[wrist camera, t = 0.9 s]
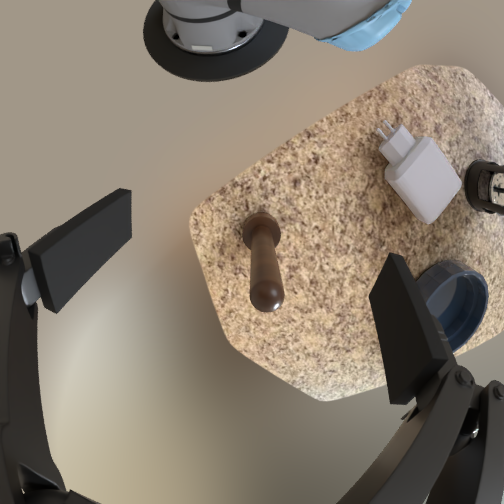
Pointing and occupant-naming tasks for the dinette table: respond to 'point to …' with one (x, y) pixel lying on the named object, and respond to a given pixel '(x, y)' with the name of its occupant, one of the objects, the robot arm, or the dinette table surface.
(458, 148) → the dinette table surface
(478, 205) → the french press
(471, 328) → the bowl
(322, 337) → the dinette table surface
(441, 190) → the charger
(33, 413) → the robot arm
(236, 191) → the dinette table surface
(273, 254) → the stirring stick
